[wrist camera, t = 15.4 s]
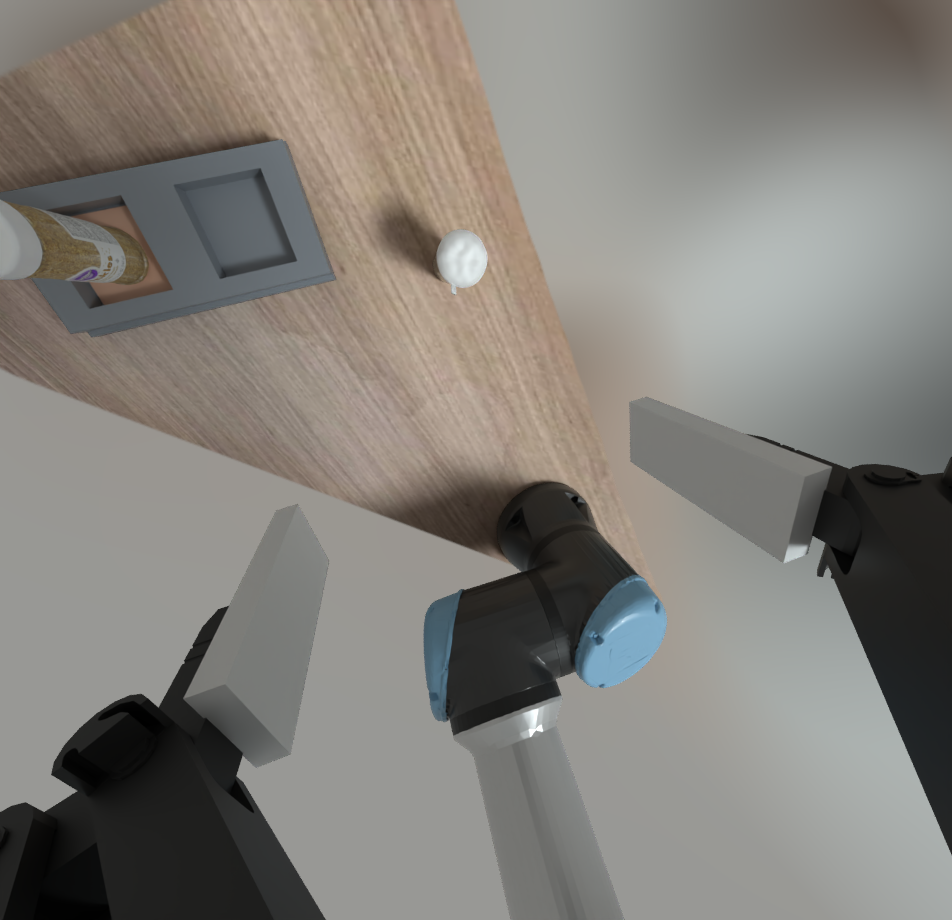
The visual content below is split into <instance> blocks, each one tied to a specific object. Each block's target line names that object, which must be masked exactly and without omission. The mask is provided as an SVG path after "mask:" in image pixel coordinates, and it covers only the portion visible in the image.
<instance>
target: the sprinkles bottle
mask: <svg viewBox="0 0 952 920" xmlns="http://www.w3.org/2000/svg"><path fill="white" fill-rule="evenodd" d="M148 268H149V262H148V258H147V255H146V253H145V251H144V250H143V248H142V246H141V245H140V244H139V242H138V241H137V240H136V239H134V238H133V237H132V236H131V235H129V234H128V233H126V232H124V231H123V230H120V229H117V228H115V227H107V226H101V225H96V224H94V223H91V222H88V221H85V220H81V219H77V218H73V217H69V216H65V215H61V214H57V213H53V212H50V211H46V210H42V209H38V208H34V207H30V206H24V205H18V204H14V203H10V202H6V201H2V200H0V280H19V279H23V278H26V277H28V278H43V279H61V280H67V281H80V282H95V283H107V282H109V283H116V284H121V285H132V284H137V283H139V282H141V281H143V280H144V278H145V277H146V276H147V273H148V270H149V269H148Z"/></svg>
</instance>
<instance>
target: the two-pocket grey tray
mask: <svg viewBox="0 0 952 920" xmlns="http://www.w3.org/2000/svg"><path fill="white" fill-rule="evenodd" d="M0 200H2V201H6V202H10V203H14V204H18V205H24V206H30V207H34V208H38V209H42V210H46V211H50V212H53V213H57V214H61V215H65V216H69V217H73V218H77V219H81V220H85V221H88V222H91V223H94V224H96V225H101V226H107V227H115V228H117V229H120V230H123V231H124V232H126V233H128V234H129V235H131V236H132V237H133V238H134V239H136V240H137V241H138V242H139V244H140V245H141V246H142V248H143V250H144V251H145V253H146V255H147V258H148V262H149V268H148V269H149V270H148V273H147V276H146V277H145V278H144V280H143V281H141V282H139V283H137V284H132V285H121V284H116V283H109V282H107V283H95V282H80V281H67V280H61V279H43V278H31V279H32V280H33V282H34V283H35V284H36V286H37V287H38V289H39V290H40V291H41V293H42V294H43V296H44V297H45V298H46V300H47V301H48V303H49V304H50V305H51V307H52V308H53V310H54V311H55V312H56V314H57V315H58V317H59V318H60V319H61V321H62V322H63V324H64V325H65V326H66V328H67V329H68V331H69V332H70V333H71V334H74V333H82V332H88V333H89V335H90V336H91V337H97V336H102V335H106V334H111V333H115V332H119V331H123V330H127V329H132V328H136V327H140V326H144V325H148V324H153V323H157V322H161V321H165V320H169V319H174V318H178V317H182V316H186V315H190V314H195V313H199V312H203V311H207V310H211V309H216V308H220V307H224V306H228V305H232V304H237V303H241V302H245V301H249V300H253V299H258V298H262V297H266V296H270V295H274V294H279V293H283V292H287V291H291V290H295V289H300V288H304V287H308V286H312V285H316V284H321V283H325V282H329V281H333V280H336V278H335V275H334V272H333V269H332V267H331V264H330V261H329V258H328V255H327V253H326V250H325V247H324V244H323V241H322V239H321V236H320V233H319V230H318V228H317V225H316V222H315V219H314V216H313V214H312V211H311V208H310V205H309V202H308V200H307V197H306V194H305V191H304V188H303V186H302V183H301V180H300V177H299V175H298V172H297V169H296V166H295V163H294V161H293V158H292V155H291V152H290V149H289V147H288V144H287V143H286V141H283V140H282V139H281V140H276V141H271V142H265V143H260V144H255V145H250V146H244V147H239V148H234V149H228V150H223V151H218V152H212V153H207V154H202V155H197V156H191V157H186V158H181V159H175V160H170V161H165V162H159V163H154V164H149V165H144V166H138V167H133V168H128V169H122V170H117V171H112V172H106V173H101V174H96V175H91V176H85V177H80V178H75V179H69V180H64V181H59V182H53V183H48V184H43V185H38V186H32V187H27V188H22V189H16V190H11V191H6V192H0Z"/></svg>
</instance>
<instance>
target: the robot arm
mask: <svg viewBox="0 0 952 920" xmlns="http://www.w3.org/2000/svg"><path fill="white" fill-rule="evenodd" d="M630 458H631V462H632V463H634V464H635V465H636V466H638V467H639V468H641V469H642V470H644V471H645V472H647V473H648V474H650V475H651V476H653V477H654V478H656V479H657V480H659V481H660V482H662V483H663V484H665V485H666V486H668V487H670V488H671V489H672V490H674V491H675V492H677V493H678V494H680V495H681V496H683V497H685V498H686V499H688V500H689V501H690V502H692V503H694V504H695V505H697V506H698V507H700V508H701V509H703V510H704V511H706V512H707V513H709V514H710V515H712V516H713V517H715V518H716V519H718V520H719V521H721V522H722V523H724V524H725V525H727V526H728V527H730V528H731V529H733V530H734V531H736V532H737V533H739V534H740V535H742V536H743V537H745V538H746V539H748V540H749V541H751V542H752V543H754V544H755V545H757V546H758V547H760V548H761V549H763V550H764V551H766V552H767V553H769V554H771V555H772V556H773V557H775V558H776V559H778V560H779V561H781V562H782V563H785V562H788V561H791V560H793V559H796V558H798V557H801V556H804V555H806V554H807V553H808V551H809V547H810V543H811V540H812V536H814V537H816V538H818V539H820V540H821V541H823V542H825V547H824V550H823V553H822V557H821V560H820V563H819V566H818V569H817V576H819V577H823V575H824V572H825V570H826V569H827V568H829V569H830V571H831V573H832V575H831V578H833V579H834V580H835V583H836V585H837V587H838V590H839V592H840V594H841V597H842V599H843V601H844V604H845V606H846V608H847V611H848V613H849V615H850V618H851V620H852V622H853V625H854V627H855V629H856V632H857V634H858V637H859V639H860V641H861V644H862V646H863V648H864V651H865V653H866V655H867V658H868V660H869V662H870V665H871V667H872V669H873V672H874V674H875V676H876V679H877V681H878V683H879V686H880V688H881V690H882V693H883V695H884V697H885V699H886V702H887V704H888V707H889V709H890V711H891V714H892V716H893V718H894V721H895V723H896V725H897V728H898V730H899V733H900V735H901V737H902V740H903V742H904V744H905V747H906V749H907V751H908V754H909V756H910V758H911V760H912V763H913V765H914V767H915V770H916V772H917V775H918V777H919V779H920V782H921V784H922V786H923V789H924V791H925V793H926V796H927V798H928V801H929V803H930V805H931V807H932V810H933V812H934V815H935V817H936V819H937V822H938V824H939V826H940V829H941V831H942V833H943V836H944V838H945V840H946V843H947V845H948V847H949V850H950V852H951V854H952V457H951V458H950V460H949V462H948V464H947V466H946V469H945V471H944V473H937V474H928V475H919V474H917V473H915V472H912V471H910V470H907V469H904V468H899V467H895V466H890V465H879V464H869V465H868V464H867V465H859V466H855V467H852V468H851V469H848V468H845V467H843V466H840V465H837V464H834V463H831V462H829V461H826V460H824V459H821V458H818V457H815V456H813V455H810V454H807V453H804V452H802V451H799V450H796V451H795V450H794V448H791V447H788V446H785V445H780V443H777V442H775V441H772V440H769V439H767V438H764V437H759V436H753V435H748V434H744V433H741V432H738V431H736V430H733V429H730V428H728V427H725V426H722V425H720V424H717V423H715V422H712V421H709V420H707V419H704V418H701V417H699V416H696V415H693V414H691V413H688V412H685V411H683V410H680V409H678V408H675V407H672V406H670V405H667V404H664V403H662V402H659V401H657V400H654V399H651V398H649V397H645V398H641V399H638V400H635V401H631V402H630ZM497 539H498V542H499V545H500V547H501V549H502V551H503V553H504V555H505V557H506V558H507V559H508V561H509V562H510V563H511V564H513V565H514V566H515V567H516V568H517V569H519V570H520V571H521V572H520V573H517V574H514V575H511V576H508V577H504V578H501V579H498V580H496V581H492V582H489V583H486V584H482V585H480V586H476V587H473V588H470V589H466V590H464V589H461V590H459V591H458V592H457V593H455V594H452V595H449V596H447V597H444V598H442V599H439V600H437V601H435V602H433V603H432V604H431V605H430V607H429V608H428V610H427V613H426V616H425V622H424V659H425V671H426V681H427V687H428V690H429V697H430V705H431V710H432V713H433V715H434V717H435V719H437V720H438V721H443V722H447V721H448V720H449V719H450V723H451V728H452V732H453V737H454V740H455V741H456V742H458V743H459V744H460V745H462V746H463V747H465V748H466V749H467V750H469V751H470V753H471V754H472V755H473V756H474V760H475V764H476V769H477V773H478V778H479V782H480V786H481V791H482V795H483V800H484V804H485V809H486V813H487V817H488V822H489V826H490V831H491V835H492V839H493V844H494V848H495V853H496V857H497V862H498V866H499V871H500V875H501V879H502V883H503V888H504V893H505V897H506V902H507V905H508V910H509V915H510V919H511V920H624V917H623V914H622V911H621V908H620V905H619V903H618V900H617V897H616V894H615V891H614V888H613V885H612V883H611V880H610V877H609V874H608V871H607V868H606V866H605V863H604V860H603V857H602V854H601V851H600V848H599V846H598V843H597V840H596V837H595V834H594V831H593V828H592V826H591V823H590V820H589V817H588V814H587V811H586V809H585V806H584V803H583V800H582V797H581V794H580V792H579V789H578V786H577V783H576V780H575V777H574V774H573V771H572V769H571V766H570V763H569V760H568V757H567V755H566V752H565V749H564V746H563V743H562V740H561V738H560V734H559V732H558V729H557V726H556V722H557V716H558V713H559V709H560V706H561V703H562V700H563V698H562V696H561V693H560V690H559V688H558V685H557V682H556V679H557V678H560V677H562V676H565V675H568V674H571V673H573V672H576V673H577V675H578V676H579V678H580V679H582V680H583V681H584V682H585V683H586V684H587V685H589V686H591V687H598V686H599V687H602V688H606V687H611V686H614V685H616V684H619V683H621V682H623V681H624V680H626V679H628V678H629V677H631V676H632V675H634V674H635V673H636V672H638V671H639V670H640V669H641V668H642V667H643V666H644V665H645V664H646V663H647V662H648V661H649V660H650V659H651V657H652V656H653V655H654V654H655V652H656V651H657V649H658V647H659V646H660V644H661V642H662V640H663V637H664V634H665V631H666V626H667V617H666V612H665V609H664V606H663V604H662V603H661V601H660V600H659V599H658V597H657V596H656V595H655V593H654V592H653V591H652V590H651V588H650V587H649V586H648V584H647V582H646V581H645V579H644V578H643V577H641V576H639V575H638V574H637V573H636V572H635V570H634V569H633V568H632V567H631V566H630V565H629V564H628V563H627V562H626V561H625V560H624V559H623V558H622V557H621V556H620V554H619V553H618V552H617V551H616V550H615V549H614V548H613V547H612V546H611V545H610V544H609V543H608V542H607V541H606V540H605V539H604V537H603V536H602V535H601V534H600V533H599V532H598V530H597V527H596V524H595V521H594V518H593V516H592V513H591V510H590V508H589V506H588V504H587V502H586V501H585V500H584V499H583V498H582V497H581V496H580V495H579V494H578V493H577V492H576V491H575V490H574V489H572V488H571V487H569V486H567V485H564V484H559V483H545V484H540V485H536V486H533V487H531V488H529V489H527V490H525V491H523V492H522V493H520V494H519V495H517V496H516V497H515V498H514V499H513V500H512V501H511V502H510V503H509V504H508V505H507V506H506V508H505V509H504V511H503V513H502V515H501V517H500V519H499V522H498V526H497ZM328 564H329V560H328V558H327V556H326V554H325V552H324V551H323V549H322V547H321V545H320V544H319V542H318V540H317V538H316V536H315V534H314V532H313V531H312V529H311V527H310V525H309V523H308V521H307V520H306V518H305V516H304V514H303V512H302V511H301V509H300V507H299V505H298V504H297V505H293V506H290V507H287V508H284V509H281V510H277V511H276V512H275V514H274V516H273V518H272V520H271V522H270V524H269V526H268V529H267V530H266V533H265V534H264V537H263V538H262V541H261V543H260V545H259V547H258V549H257V551H256V553H255V555H254V557H253V559H252V561H251V563H250V565H249V567H248V569H247V571H246V573H245V575H244V577H243V579H242V581H241V583H240V585H239V587H238V589H237V591H236V593H235V595H234V597H233V599H232V601H231V603H230V605H229V606H227V607H224V608H221V609H218V610H217V612H216V613H215V614H214V615H213V616H212V617H211V618H210V619H209V620H208V621H207V623H206V624H205V625H204V626H203V627H202V629H201V631H200V632H199V634H198V637H197V638H196V640H195V642H194V643H193V648H192V649H190V651H189V653H188V655H187V656H186V659H185V660H184V661H185V664H182V666H181V667H180V669H179V671H178V673H177V675H176V677H175V679H174V680H173V682H172V684H171V686H170V688H169V690H168V692H167V693H166V695H165V697H164V699H163V701H162V703H161V704H160V706H159V708H158V707H157V706H156V705H154V703H152V702H151V701H150V700H149V699H148V698H146V697H145V696H144V695H142V694H137V695H129V696H127V697H125V698H122V699H120V700H118V701H115V702H114V703H112V704H110V705H109V706H108V707H106V708H104V709H103V710H101V711H100V712H98V713H97V714H96V715H94V716H93V717H92V718H91V719H90V720H89V721H88V722H86V723H85V724H84V725H83V726H82V727H81V728H79V730H78V731H77V732H76V733H75V734H74V735H73V736H72V737H71V738H70V740H69V741H68V742H67V743H66V744H65V745H64V747H63V748H62V750H61V752H60V753H59V755H58V756H57V758H56V760H55V761H54V765H53V769H52V774H51V775H52V776H54V777H56V778H58V779H59V780H61V781H62V782H64V783H66V784H67V785H69V786H71V787H72V788H74V789H76V790H77V792H75V793H74V794H72V795H71V796H69V797H67V798H66V799H64V800H63V801H61V802H60V803H58V804H56V805H55V806H53V807H52V808H50V809H48V810H47V811H45V812H43V811H41V810H39V809H37V808H35V807H33V806H31V805H30V804H28V803H21V804H18V805H14V806H11V807H9V808H7V809H5V810H4V811H2V812H0V920H326V919H325V918H324V916H323V914H322V913H321V911H320V909H319V908H318V906H317V905H316V903H315V901H314V899H313V898H312V896H311V895H310V893H309V891H308V889H307V888H306V886H305V885H304V883H303V881H302V879H301V878H300V876H299V874H298V873H297V871H296V870H295V868H294V866H293V865H292V863H291V862H290V859H289V858H288V856H287V854H286V853H285V852H284V849H283V848H282V846H281V844H280V843H279V841H278V840H277V838H276V837H275V834H274V833H273V831H272V829H271V828H270V826H269V824H268V823H267V821H266V819H265V818H264V816H263V814H262V813H261V811H260V810H259V808H258V806H257V804H256V803H255V801H254V800H253V798H252V796H251V794H250V793H249V791H248V789H247V788H246V786H245V785H244V783H243V782H242V781H241V780H240V779H239V778H238V777H237V776H236V775H237V772H238V768H239V765H240V762H241V759H242V755H243V756H244V757H245V758H246V759H247V760H248V761H249V762H250V763H251V764H252V765H253V766H255V767H256V768H257V767H259V766H262V765H265V764H267V763H270V762H272V761H275V760H278V759H280V758H283V757H285V756H288V755H290V754H291V749H292V744H293V740H294V735H295V730H296V724H297V719H298V714H299V710H300V704H301V699H302V694H303V690H304V684H305V679H306V675H307V670H308V664H309V659H310V654H311V649H312V645H313V639H314V634H315V629H316V624H317V619H318V614H319V609H320V604H321V599H322V594H323V589H324V584H325V579H326V574H327V569H328Z"/></svg>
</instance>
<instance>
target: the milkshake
mask: <svg viewBox="0 0 952 920" xmlns="http://www.w3.org/2000/svg"><path fill="white" fill-rule="evenodd" d="M486 266H487V252H486V249H485V247H484V245H483V243H482V241H481V239H480V238H479V237H478V236H477V235H476V234H474V233H472V232H470V231H468V230H464V229H458V230H454V231H451V232H449V233H448V234H446V235H445V236H444V237H443V239H442V240H441V242H440V244H439V247H438V250H437V253H436V255H435V258H434V261H433V268H434V272H435V275H436V276H437V277H438V278H439V279H440V280H441V281H442V282H446V283H449V284H451V293H452V294H454V295H456V287H460V288H466V287H470V286H472V285H474V284H476V283H477V282H478V281H479V280H480V279H481V277H482V276H483V274H484V272H485V269H486Z"/></svg>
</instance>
